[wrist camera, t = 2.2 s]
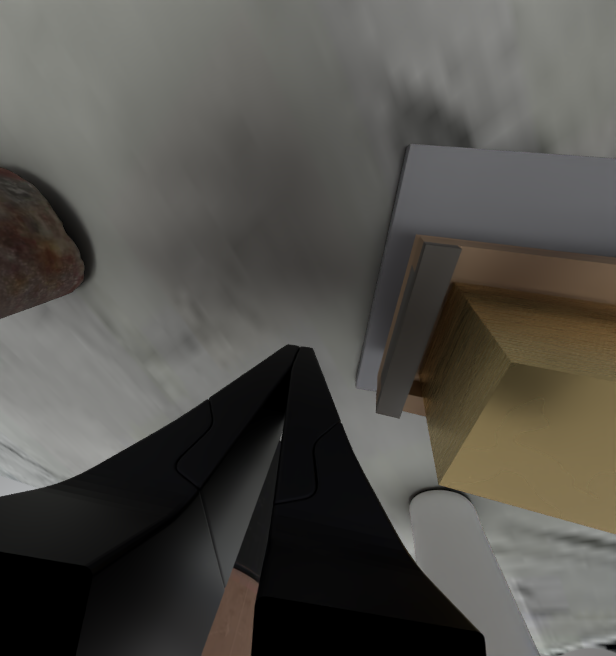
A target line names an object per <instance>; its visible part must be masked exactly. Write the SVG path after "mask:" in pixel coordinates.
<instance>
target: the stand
mask: <svg viewBox="0 0 616 656" xmlns="http://www.w3.org/2000/svg"><path fill="white" fill-rule="evenodd" d="M416 234H418V235H427V236H435V237H444V238H452V239H461V240H469V241H478V242H486V243H495V244H503V245H512V246H520V247H529V248H537V249H546V250H554V251H563V252H571V253H580V254H589V255H597V256H606V257H614V258H616V158H602V157H588V156H574V155H560V154H546V153H532V152H518V151H503V150H489V149H475V148H461V147H447V146H433V145H419V144H410V145H408V146H407V149H406V154H405V158H404V163H403V167H402V172H401V176H400V181H399V185H398V190H397V195H396V199H395V204H394V208H393V213H392V217H391V222H390V226H389V231H388V235H387V240H386V244H385V249H384V254H383V258H382V263H381V267H380V272H379V276H378V281H377V285H376V290H375V294H374V299H373V303H372V308H371V313H370V317H369V322H368V326H367V331H366V335H365V340H364V344H363V349H362V353H361V358H360V362H359V367H358V372H357V376H356V388H358V389H364V390H370V391H377V375H378V371H379V368H380V364H381V360H382V357H383V353H384V349H385V346H386V342H387V338H388V335H389V331H390V327H391V324H392V320H393V317H394V313H395V309H396V306H397V302H398V298H399V295H400V291H401V287H402V284H403V280H404V276H405V273H406V269H407V265H408V262H409V258H410V254H411V251H412V247H413V243H414V240H415V236H416Z"/></svg>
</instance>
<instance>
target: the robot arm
mask: <svg viewBox="0 0 616 656" xmlns="http://www.w3.org/2000/svg"><path fill="white" fill-rule="evenodd" d="M282 431H283V433H282ZM281 434H282V440H281V448H280V455H279V463H278V470H277V478H276V485H275V492H274V500H273V509H272V515H271V522H270V528H269V534H268V541H267V546H266V551H265V556H264V561H263V566H262V571H261V576H260V581H259V586H258V590H257V595H256V600H255V605H254V619H253V633H252V646H251V656H486V645H485V638H484V635H483V634H482V633H481V632H480V631H479V630H478V629H477V628H476V627H475V626H474V625H473V624H472V623H471V622H470V621H469V620H468V619H467V618H466V617H465V615H464V614H463V613H462V612H461V611H460V610H459V609H458V608H457V607H456V606H455V605H454V604H453V603H452V602H451V601H450V600H449V599H448V598H447V597H446V596H445V595H444V594H443V593H442V592H441V591H440V590H439V588H438V587H437V586H436V585H435V584H434V583H433V582H432V581H431V580H430V579H429V578H428V577H427V576H426V575H425V574H424V572H423V571H422V570H421V569H420V567H419V566H418V565H417V564H416V562H415V561H414V560H413V558H412V557H411V555H410V554H409V553H408V551H407V549H406V548H405V546H404V545H403V543H402V541H401V540H400V538H399V536H398V534H397V533H396V531H395V529H394V527H393V525H392V524H391V522H390V520H389V518H388V516H387V514H386V512H385V511H384V509H383V507H382V505H381V503H380V501H379V500H378V498H377V496H376V494H375V492H374V490H373V489H372V487H371V485H370V483H369V481H368V479H367V477H366V476H365V474H364V472H363V470H362V468H361V466H360V464H359V462H358V460H357V458H356V456H355V454H354V452H353V450H352V447H351V445H350V443H349V440H348V438H347V435H346V433H345V430H344V428H343V425H342V423H341V420H340V418H339V415H338V412H337V410H336V407H335V405H334V402H333V399H332V397H331V394H330V392H329V389H328V386H327V384H326V381H325V378H324V376H323V373H322V371H321V368H320V365H319V363H318V360H317V358H316V355H315V352H314V350H313V348H310V347H303V346H302V347H299V346H296V345H289V344H288V345H286V346H284V347H283V348H281V349H280V350H278V351H277V352H275V353H274V354H272V355H271V356H269V357H268V358H267V359H265V360H264V361H262V362H261V363H259V364H258V365H256V366H255V367H253V368H252V369H251V370H249V371H248V372H246V373H245V374H243V375H242V376H240V377H239V378H237V379H236V380H235V381H233V382H232V383H230V384H229V385H227V386H226V387H224V388H223V389H221V390H220V391H218V392H217V393H216V394H214V395H213V396H211V397H210V398H209V400H208V399H207V400H205V401H204V402H202V403H201V404H199V405H198V406H196V407H195V408H193V409H192V410H190V411H189V412H187V413H186V414H184V415H183V416H181V417H180V418H178V419H176V420H175V421H173V422H171V423H170V424H168V425H166V426H165V427H163V428H161V429H160V430H158V431H156V432H155V433H153V434H151V435H149V436H148V437H146V438H144V439H142V440H140V441H139V442H137V443H135V444H133V445H132V446H130V447H128V448H126V449H125V450H123V451H121V452H119V453H118V454H116V455H114V456H112V457H111V458H109V459H107V460H105V461H104V462H102V463H100V464H98V465H97V466H95V467H93V468H91V469H89V470H87V471H85V472H83V473H81V474H79V475H77V476H75V477H72V478H70V479H68V480H65V481H62V482H60V483H57V484H54V485H50V486H47V487H43V488H39V489H35V490H30V491H25V492H20V493H16V494H11V495H6V496H1V497H0V656H201V655H202V652H203V649H204V646H205V644H206V641H207V638H208V635H209V633H210V630H211V627H212V624H213V622H214V619H215V616H216V613H217V611H218V608H219V605H220V602H221V600H222V597H223V594H224V591H225V589H224V588H225V587H226V585H227V583H228V580H229V577H230V574H231V572H232V569H233V566H234V563H235V561H236V558H237V555H238V552H239V550H240V547H241V544H242V541H243V539H244V536H245V533H246V530H247V528H248V525H249V522H250V519H251V516H252V514H253V511H254V508H255V505H256V503H257V500H258V497H259V494H260V492H261V489H262V486H263V483H264V481H265V478H266V475H267V472H268V470H269V467H270V464H271V461H272V459H273V456H274V453H275V450H276V448H277V445H278V442H279V439H280V436H281Z"/></svg>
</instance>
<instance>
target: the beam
mask: <svg viewBox="0 0 616 656" xmlns="http://www.w3.org/2000/svg"><path fill="white" fill-rule="evenodd" d="M453 281H454V282H461V283H468V284H474V285H481V286H488V287H495V288H502V289H509V290H516V291H523V292H530V293H536V294H543V295H550V296H557V297H564V298H571V299H578V300H585V301H592V302H599V303H605V304H612V305H616V258H614V257H606V256H597V255H589V254H580V253H571V252H563V251H554V250H546V249H537V248H529V247H520V246H512V245H503V244H495V243H486V242H478V241H469V240H461V239H452V238H444V237H435V236H427V235H418V234H416V236H415V240H414V243H413V247H412V251H411V254H410V258H409V262H408V265H407V269H406V273H405V276H404V280H403V284H402V287H401V291H400V295H399V298H398V302H397V306H396V309H395V313H394V317H393V320H392V324H391V327H390V331H389V335H388V338H387V342H386V346H385V349H384V353H383V357H382V360H381V364H380V368H379V371H378V375H377V394H376V413H378V414H382V415H386V416H391V417H395V418H400V416H401V413H402V411H405V412H409V413H414V414H418V415H422V416H426V413H425V408H424V403H423V397H422V392H421V386H420V381H419V376H418V374H419V372H420V369H421V366H422V364H423V361H424V358H425V356H426V353H427V350H428V348H429V345H430V342H431V340H432V337H433V335H434V332H435V329H436V327H437V324H438V321H439V319H440V316H441V313H442V311H443V308H444V305H445V303H446V300H447V297H448V295H449V292H450V289H451V287H452V284H453Z"/></svg>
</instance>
